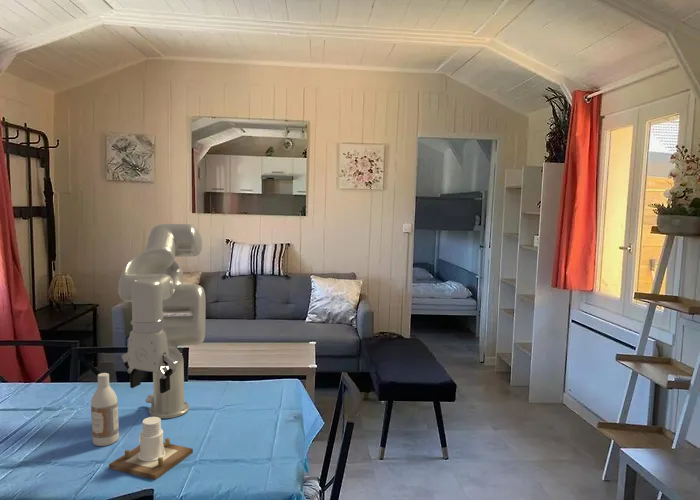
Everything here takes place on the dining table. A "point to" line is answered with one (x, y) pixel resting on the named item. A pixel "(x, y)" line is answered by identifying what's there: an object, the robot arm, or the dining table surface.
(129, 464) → the pin board
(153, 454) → the downlight
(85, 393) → the dining table surface
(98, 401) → the bath foam
